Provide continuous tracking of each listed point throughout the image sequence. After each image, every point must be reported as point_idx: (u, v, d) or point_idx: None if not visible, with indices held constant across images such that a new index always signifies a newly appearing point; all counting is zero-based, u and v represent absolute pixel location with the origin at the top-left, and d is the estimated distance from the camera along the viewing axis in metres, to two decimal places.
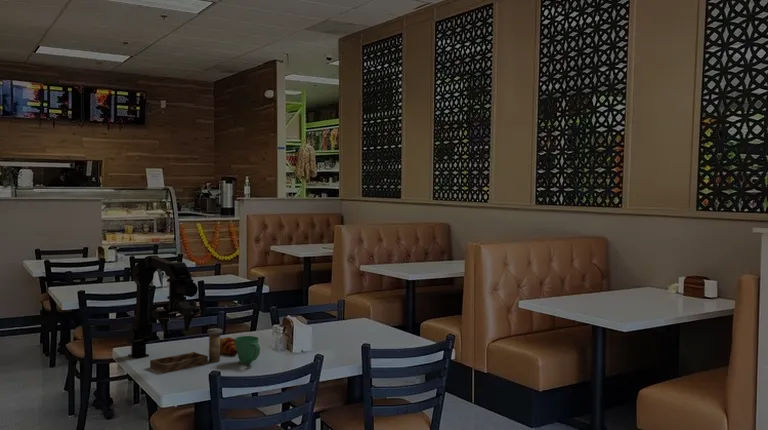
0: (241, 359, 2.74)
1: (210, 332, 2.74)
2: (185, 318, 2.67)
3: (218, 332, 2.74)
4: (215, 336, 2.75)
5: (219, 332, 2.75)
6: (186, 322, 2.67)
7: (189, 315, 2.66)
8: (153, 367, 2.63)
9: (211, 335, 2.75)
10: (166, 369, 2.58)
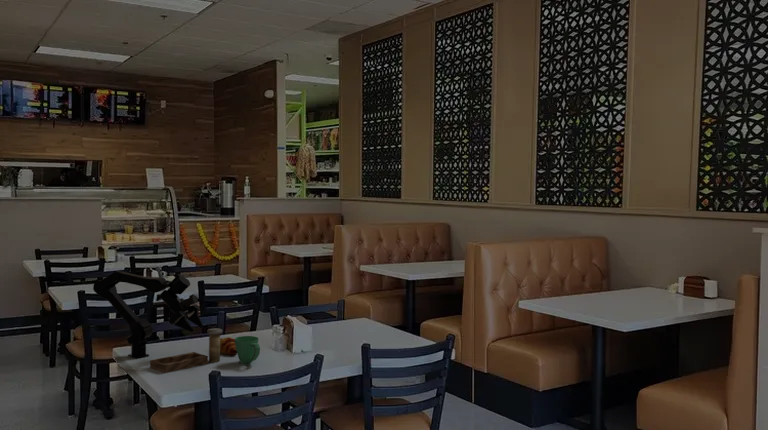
0: (241, 359, 2.74)
1: (210, 332, 2.74)
2: (192, 320, 2.83)
3: (218, 332, 2.74)
4: (215, 336, 2.75)
5: (219, 332, 2.75)
6: (196, 320, 2.82)
7: (194, 313, 2.83)
8: (153, 367, 2.63)
9: (211, 335, 2.75)
10: (166, 369, 2.58)
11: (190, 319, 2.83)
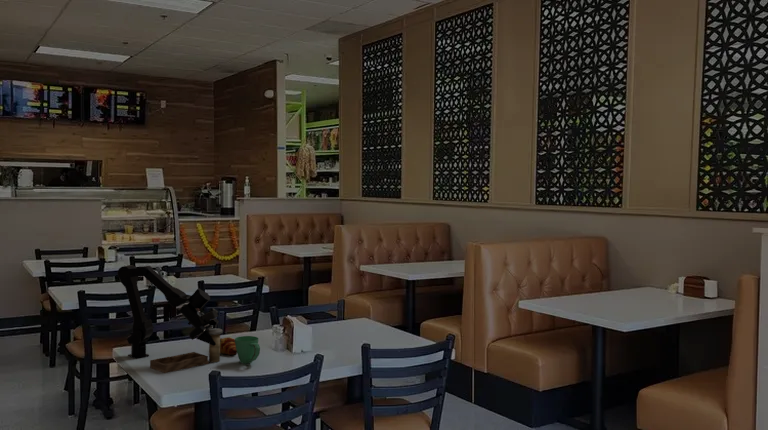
0: (241, 359, 2.74)
1: (210, 332, 2.74)
2: None
3: (218, 332, 2.74)
4: (215, 336, 2.75)
5: (219, 332, 2.75)
6: None
7: (212, 328, 2.80)
8: (153, 367, 2.63)
9: (211, 335, 2.75)
10: (166, 369, 2.58)
11: None
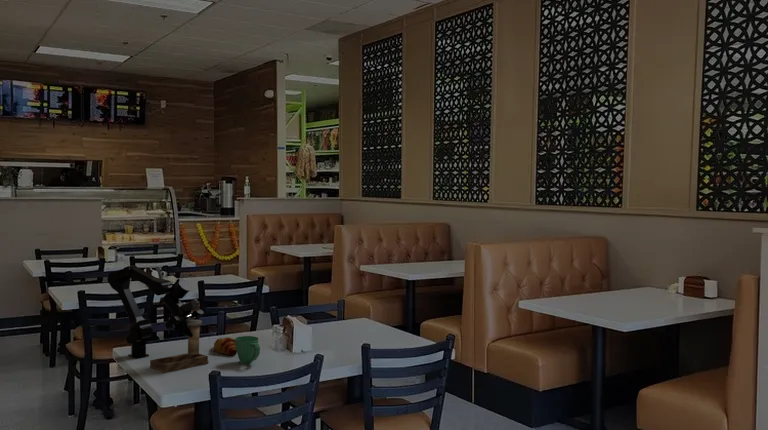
0: (241, 359, 2.74)
1: (188, 323, 2.67)
2: None
3: (196, 323, 2.67)
4: (193, 327, 2.68)
5: (197, 324, 2.67)
6: None
7: (194, 319, 2.74)
8: (153, 367, 2.63)
9: (189, 326, 2.68)
10: (166, 369, 2.58)
11: None
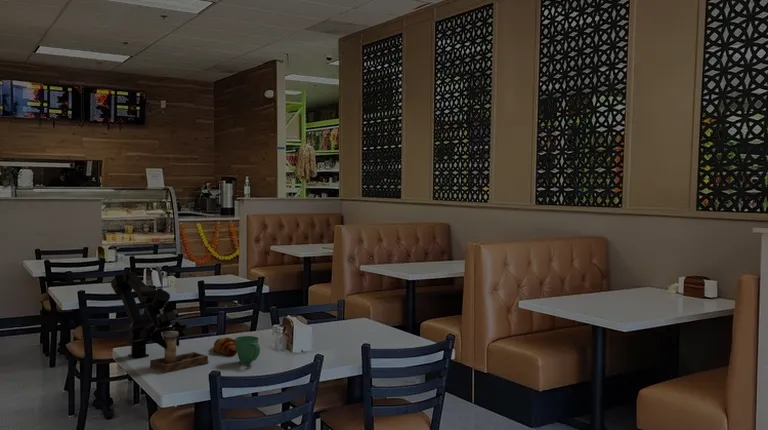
0: (241, 359, 2.74)
1: (163, 334, 2.63)
2: None
3: (169, 335, 2.62)
4: (168, 339, 2.63)
5: (171, 335, 2.62)
6: None
7: (174, 330, 2.69)
8: (153, 367, 2.63)
9: (165, 337, 2.64)
10: (166, 369, 2.58)
11: None
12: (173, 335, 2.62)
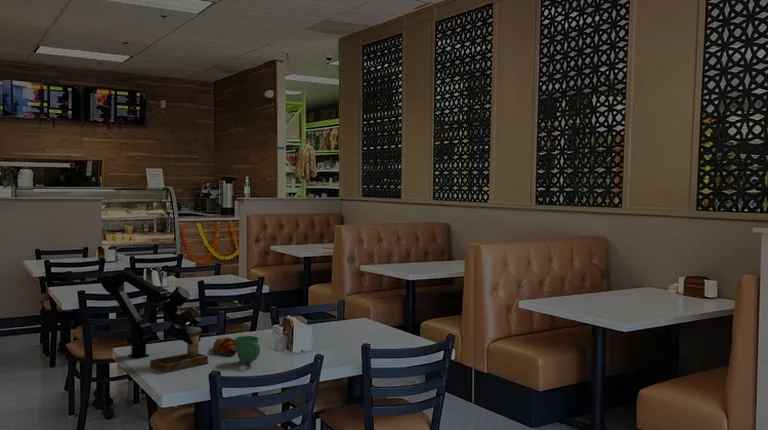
0: (241, 359, 2.74)
1: (187, 331, 2.70)
2: None
3: (195, 331, 2.70)
4: (192, 335, 2.71)
5: (196, 331, 2.71)
6: None
7: (193, 326, 2.77)
8: (153, 367, 2.63)
9: (189, 334, 2.71)
10: (166, 369, 2.58)
11: None
12: (198, 331, 2.71)
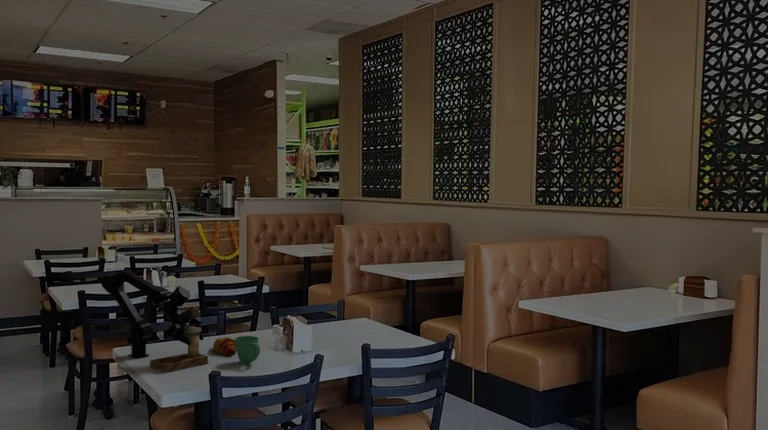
0: (241, 359, 2.74)
1: (188, 331, 2.71)
2: None
3: (196, 331, 2.71)
4: (193, 335, 2.71)
5: (197, 331, 2.71)
6: None
7: (196, 325, 2.79)
8: (153, 367, 2.63)
9: (189, 334, 2.71)
10: (166, 369, 2.58)
11: None
12: (198, 331, 2.72)
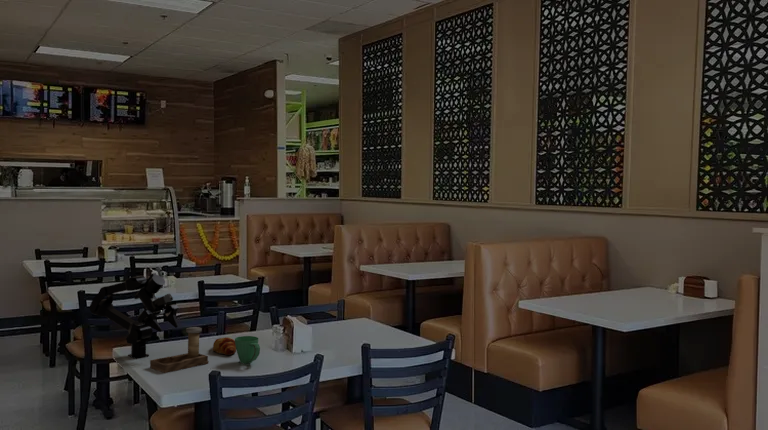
0: (241, 359, 2.74)
1: (188, 330, 2.71)
2: (169, 320, 2.80)
3: (196, 331, 2.71)
4: (193, 335, 2.71)
5: (197, 331, 2.71)
6: (172, 320, 2.79)
7: (171, 313, 2.80)
8: (153, 367, 2.63)
9: (189, 334, 2.72)
10: (166, 369, 2.58)
11: (167, 319, 2.81)
12: (199, 330, 2.72)
